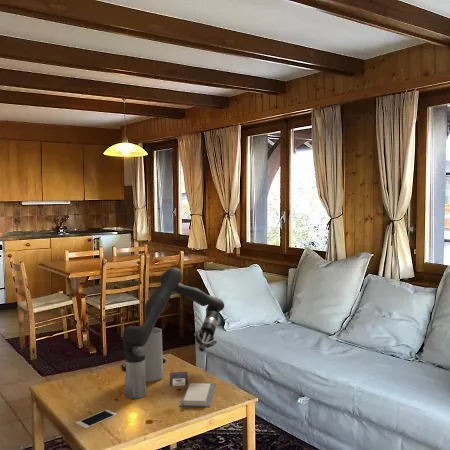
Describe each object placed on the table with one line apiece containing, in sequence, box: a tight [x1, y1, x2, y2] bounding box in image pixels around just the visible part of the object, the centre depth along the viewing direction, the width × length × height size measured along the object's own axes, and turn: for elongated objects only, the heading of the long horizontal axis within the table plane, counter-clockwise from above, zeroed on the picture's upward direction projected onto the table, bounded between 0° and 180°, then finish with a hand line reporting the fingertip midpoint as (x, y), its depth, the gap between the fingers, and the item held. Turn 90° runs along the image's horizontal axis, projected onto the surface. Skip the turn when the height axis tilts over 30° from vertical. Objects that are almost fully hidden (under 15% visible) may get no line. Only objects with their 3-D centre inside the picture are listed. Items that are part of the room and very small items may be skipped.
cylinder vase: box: [137, 327, 164, 383], centre depth 259 cm, size 12×12×25 cm
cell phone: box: [75, 409, 118, 429], centre depth 214 cm, size 8×16×1 cm, turn 139°
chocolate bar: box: [169, 371, 189, 387], centre depth 257 cm, size 9×1×18 cm
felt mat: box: [178, 382, 217, 408], centre depth 237 cm, size 26×14×1 cm, turn 175°
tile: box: [183, 382, 211, 406], centre depth 234 cm, size 2×10×20 cm
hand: (201, 350), depth 250 cm, fingers closed
